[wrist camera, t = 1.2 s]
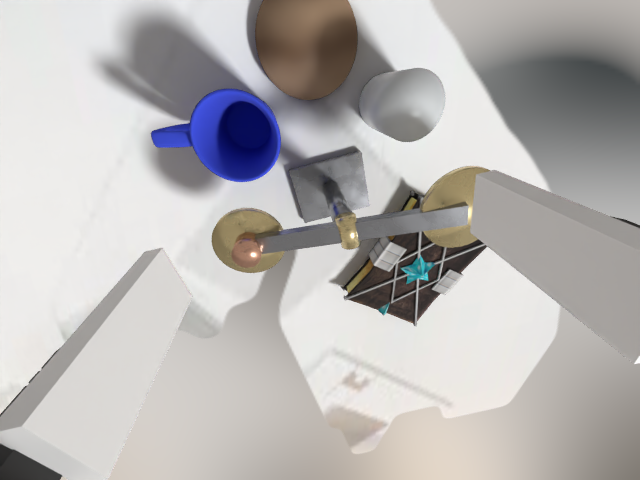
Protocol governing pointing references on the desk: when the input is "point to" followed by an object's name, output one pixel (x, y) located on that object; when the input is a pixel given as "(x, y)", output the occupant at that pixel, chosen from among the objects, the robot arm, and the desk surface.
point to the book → (409, 272)
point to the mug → (228, 135)
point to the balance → (344, 215)
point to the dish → (306, 45)
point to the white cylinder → (403, 103)
